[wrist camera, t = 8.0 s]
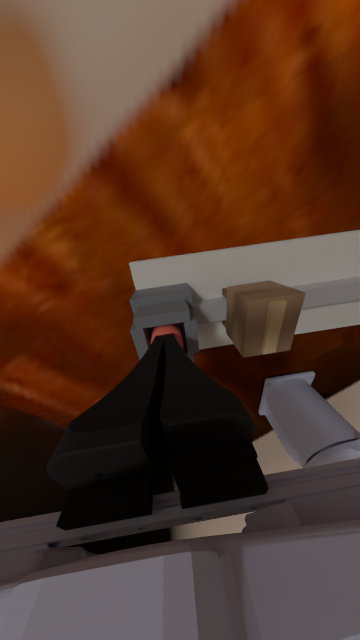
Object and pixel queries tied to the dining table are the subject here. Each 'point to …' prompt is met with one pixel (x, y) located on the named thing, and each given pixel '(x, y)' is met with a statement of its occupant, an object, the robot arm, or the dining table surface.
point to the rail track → (243, 268)
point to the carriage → (262, 316)
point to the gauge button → (168, 332)
